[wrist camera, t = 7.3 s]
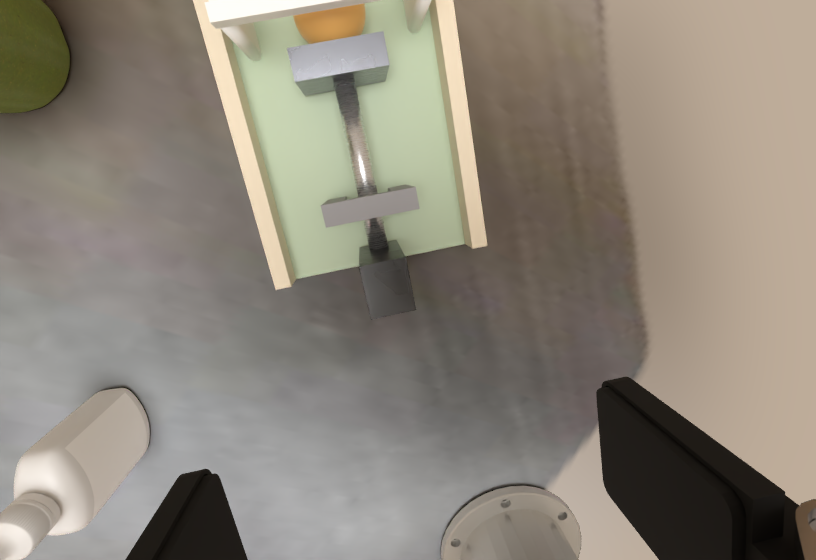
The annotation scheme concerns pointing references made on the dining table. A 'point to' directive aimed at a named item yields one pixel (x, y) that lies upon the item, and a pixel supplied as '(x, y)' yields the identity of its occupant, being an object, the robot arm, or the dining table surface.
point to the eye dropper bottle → (73, 471)
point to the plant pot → (30, 56)
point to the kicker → (359, 154)
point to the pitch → (325, 140)
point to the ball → (331, 23)
